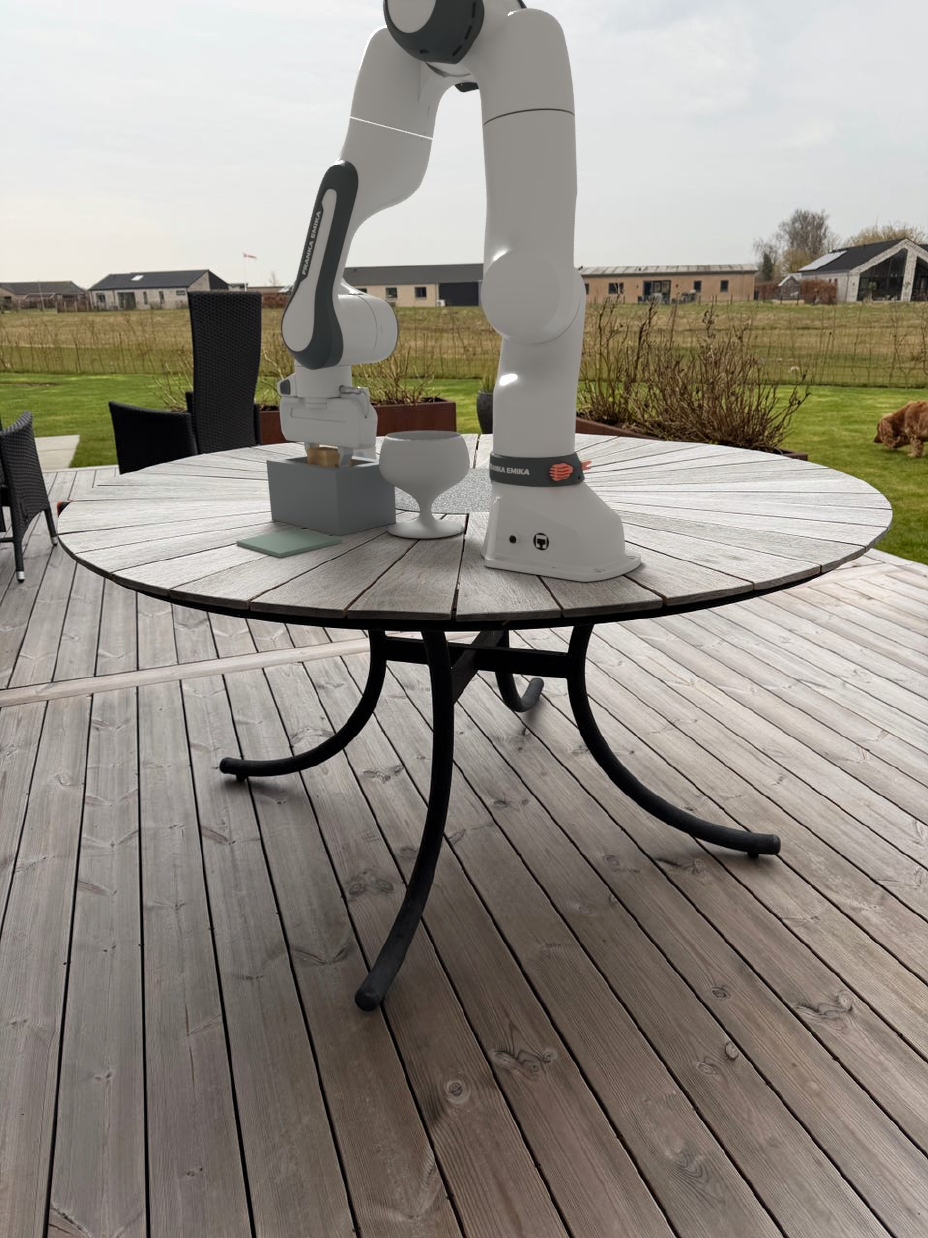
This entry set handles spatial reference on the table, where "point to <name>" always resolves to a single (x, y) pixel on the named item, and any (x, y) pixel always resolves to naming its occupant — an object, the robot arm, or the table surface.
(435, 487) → the chalice
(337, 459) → the honey block
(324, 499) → the box
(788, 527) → the table surface
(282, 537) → the green mat
